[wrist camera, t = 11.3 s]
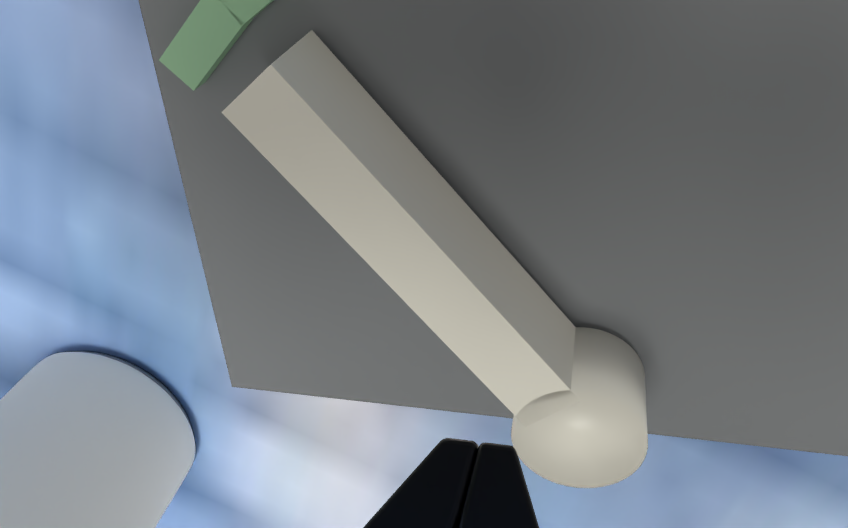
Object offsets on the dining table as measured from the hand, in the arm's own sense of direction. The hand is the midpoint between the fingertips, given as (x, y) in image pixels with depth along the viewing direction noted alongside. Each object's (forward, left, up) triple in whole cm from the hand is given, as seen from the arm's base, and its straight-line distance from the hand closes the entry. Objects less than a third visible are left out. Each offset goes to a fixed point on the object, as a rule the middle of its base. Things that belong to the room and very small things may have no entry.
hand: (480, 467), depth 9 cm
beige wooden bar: (-3, +2, -10) cm, 10 cm away
